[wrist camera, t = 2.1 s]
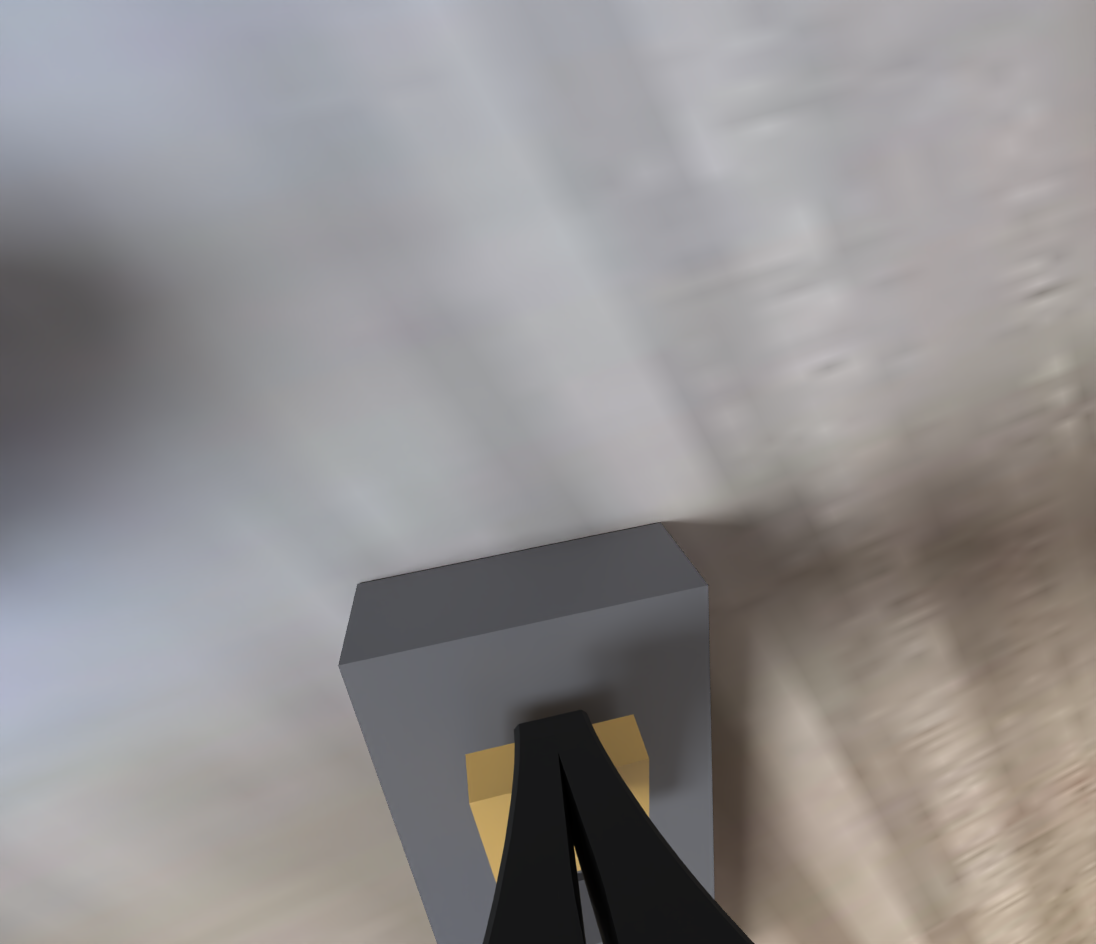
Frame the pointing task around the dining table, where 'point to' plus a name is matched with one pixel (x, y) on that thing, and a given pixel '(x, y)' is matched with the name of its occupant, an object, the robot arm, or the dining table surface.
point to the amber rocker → (495, 780)
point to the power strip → (530, 693)
